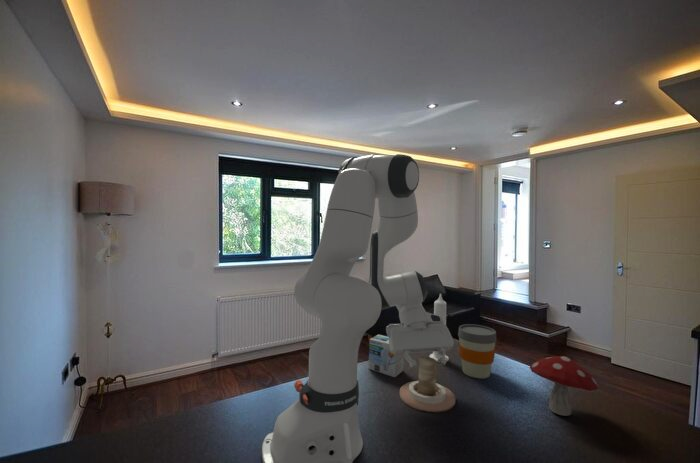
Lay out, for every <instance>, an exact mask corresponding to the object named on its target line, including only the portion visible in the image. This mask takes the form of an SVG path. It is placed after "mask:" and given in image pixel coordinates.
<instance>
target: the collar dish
mask: <svg viewBox="0 0 700 463" xmlns="http://www.w3.org/2000/svg"><path fill="white" fill-rule="evenodd" d="M399 388H400V389H399V396H400V400H401V401H402V402H403V403H405V404H406V405H407V406H409V407H410V408H413V409H415V410H418V411H423V412H427V413H442V412H446V411H449V410H451V409H452V408H454V406H455V405H456V396H455V394H454V393H453V392H452V391H451V390H450V389H449V388H447V387H446V386H444V385H442V384H439V383H436V396H424V395H422V394H419V393H418V380H416V381H415V380H413V381H409V382H407V383H405V384H403V385H402V386H401V387H399Z"/></svg>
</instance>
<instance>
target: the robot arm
mask: <svg viewBox="0 0 700 463" xmlns="http://www.w3.org/2000/svg"><path fill="white" fill-rule="evenodd" d="M419 182H420V170H419V165H418V163H417V162H416V160H415V159H414V158H413V157H412V156H410V155H406V154H400V153H399V154H395V155H393V154H377V153H376V154H368V155H362V156H353V157H350V158H347V159H345V160H344V161H343V162H342V163H341V165H340V167H339V169H338V172H337V176H336V179H335V182H334V184H333V187H332V190H331V193H330V196H329V199H328V203H327V208H326V212H325V213H326V214H325V218H324V223H323V227H322V231H321V238H320V240H319V244H318V247H317V249H316V252H315V254H314V256H313V259H312V261H311V262H310V265H309V266H308V268H307V269H306V270H305V272H304V273H303V274H302V275H301V276H299V277H298V278H297V280H296V283H295V286H294V290H293V291H294V298H295V301H296V302H297V304H298V305H299V306H300V307H301V308H302V309H303V310H304V311H305V312H307V313H308V314H310V315H312V316H314V317H317V318H319V319H320V321H321V327H320V328H321V329H320V333H319V336H318V338H317V339H316V340H315V341H313V343H312V344H311V345H310V348H309V351H308V380H307V381H306V382H305V384H304V382H303V381H302V380H301V379H298V380H296V381H295V382H294V386H293V387H294V389H295V391H296V392H297V393H299V394H298V397H299V398H298V399H297V400H296V401H295V402H294V403H292V404H291V405H290V406H289V407H287V408H286V409H285V410H283V412H281V413H280V414H279V415H278V417H277V418H276V420H275V423H274V428H273V431H272V432H270V433H268V434H266V436H265V437H264V439H263V441H262V444H261V445H262V446H261V459H262V460H261V461H262V463H353V462H354V460H355V459H356V458H357V457H358V456H359V455H360V453H361V452H362V449H363V447H364V446H363V445H364V443H363V442H364V440H363V438H362V434H361V430H360V424H359V415H358V405H359V398H360V397H359V396H360V390H359V385H360V384H359V381H358V363H359V362H358V360H359V350H360V346H361V342H362V339H363V337H364V334H365V333H366V332H367V331H368V330H369V329H370V328H372V327H373V326H374V325H375V324H376V323H377V321H378V319H379V318H380V315H381V313H382V311H384V310H386V309H390V308H391V307H396V309H397V311H398V318H399V321H400V323H389V324H388V325H387V326H386V327H385V332H386V336H387V337H389V346H390V351H391V352H392V353H393V354H403V356H404V360H405V361H407V363H408V364H409V368H410V369H413V368H416V367H417V365H418V364H417V362H416V359H413V358H412V357H411V356H410V354H416V353H417V354H419V353H420V354H421V353H431V352H432V353H433V352H434V351H438V353H439V354H441V357H440V358H439V359H438V362H437V363H438V365H439V366H445V365H446V364H447V362H446V361H445V358H444V357H445V355H446V351H450V350H452V348H453V347H454V346H455V342H454V341H455V340H454V338H453V336H452V334H451V332H450V330H449V328H448V326H447V324H446V325H444V324H442V323H443V321H444V320H443V318H442V317H441V316H438V315H434V313H431V312H427V311H426V309H425V308H424V306H423V302H424V301H425V299H426V298H427V296H428V294H429V290H428V286H427V282H426V280H425V278H424V276H423V275H422V274H421V273H420V272H418V271H415V270H414V271H413V270H411V271H405V272H401V273H398V274H397V273H396V274H392V275H388V276H384V269H385V268H384V267H385V257H386V255H387V254H388V253H389V252H390V251H391V250H392V249H393V248H395V247H397V246H398V245H400V244H402V243H403V242H405V241H407V240H408V239H410V238H411V237H412V236H413V234H414V233H415V232H416V231H417V228H418V224H419V214H418V205H417V199H416V194H415V191H416V189H417V188H418V186H419ZM376 199H377V207H378V213H379V221H378V226H377V227H376V230H374V231H373V232H372V225H373V220H374V214H375V206H376ZM371 232H372V233H371ZM370 237H371V238H370ZM369 242H370V243H369ZM369 244H370V246H369ZM369 247H370V253H369V255H370V256H369V281H368V282H367V281H365V280H363V279H361V278H359V277H356V276H351V275H350V273H351V272H352V269H353V268H354V266H355V264H356V263H357V261H359V259H361V258H362V257H363V256H365V254H366V253H367V251H368V249H369Z"/></svg>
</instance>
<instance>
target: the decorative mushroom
mask: <svg viewBox="0 0 700 463" xmlns="http://www.w3.org/2000/svg"><path fill="white" fill-rule="evenodd" d="M529 369H530V371H531V372H532V373H534V374H535V375H537V376H539V377H541V378H543V379H545V380H548V381H551V382H553V383H554V386H553V388H552V391H551V393H550V396H549V404H548V405H549V406H548V408H549V409H550V411H552V412H553V413H554V414H557V415H559V416H565V417H567V416H571V415H572V402H571V398H570V393H569V389H568V388H572V389H576V390H579V391H580V390H581V391H583V392H588V393H591V392H596V391H597V390H599V384H598V381H597V380H596V379H595V378H594V377H593V375H592V374H591V373H590V372H589V371H588V370H586V369H585V367H582V366H581V365H580V364H578V363H577V362H576V361H574V360H573V359H571V358H569V357H568V356H564V355H557V356H551V357H545V358H541V359H539V360H536V361H535V362H532V363H531V364H530V366H529Z"/></svg>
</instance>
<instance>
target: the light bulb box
mask: <svg viewBox="0 0 700 463" xmlns="http://www.w3.org/2000/svg"><path fill="white" fill-rule="evenodd" d="M368 345H369V346H368V348H369V349H368V351H369V352H368V369H369V370H371V371H373V372H378V373H381V374H383V375H386V376H390V377H391V378H396V377H397V376H399V375H400V374H401V373H403V371H404V361H405V358H404V356H403V354H393V353H392V352H391V351H390V346H389V337H388V336H387V335H382V334H377V335H375V336H373V337H371V338H370V339H369V344H368Z"/></svg>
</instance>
